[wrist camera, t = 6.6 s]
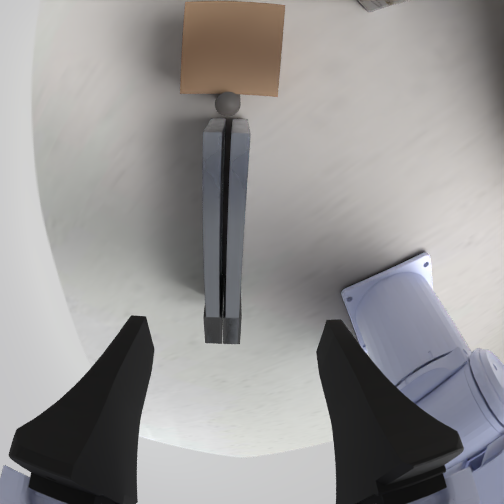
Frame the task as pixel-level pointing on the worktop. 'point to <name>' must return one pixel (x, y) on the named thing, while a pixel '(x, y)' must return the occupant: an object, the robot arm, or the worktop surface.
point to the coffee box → (378, 4)
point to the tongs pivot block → (231, 50)
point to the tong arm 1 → (213, 227)
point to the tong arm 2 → (235, 230)
